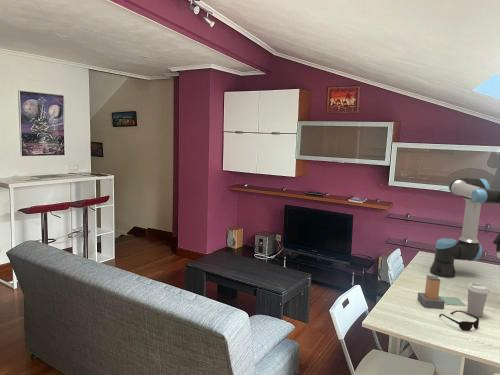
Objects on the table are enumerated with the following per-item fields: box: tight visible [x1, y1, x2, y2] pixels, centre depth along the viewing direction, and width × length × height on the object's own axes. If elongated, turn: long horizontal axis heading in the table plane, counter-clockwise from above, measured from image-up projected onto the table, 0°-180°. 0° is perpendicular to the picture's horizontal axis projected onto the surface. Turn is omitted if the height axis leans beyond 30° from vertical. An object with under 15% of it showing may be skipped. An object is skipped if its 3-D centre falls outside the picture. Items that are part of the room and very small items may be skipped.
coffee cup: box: [466, 282, 490, 318], centre depth 191 cm, size 10×10×15 cm
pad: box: [439, 295, 467, 307], centre depth 206 cm, size 10×10×1 cm
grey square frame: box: [417, 292, 446, 310], centre depth 201 cm, size 10×10×4 cm
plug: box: [424, 275, 441, 300], centre depth 200 cm, size 5×5×15 cm
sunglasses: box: [438, 310, 480, 332], centre depth 182 cm, size 14×16×5 cm
